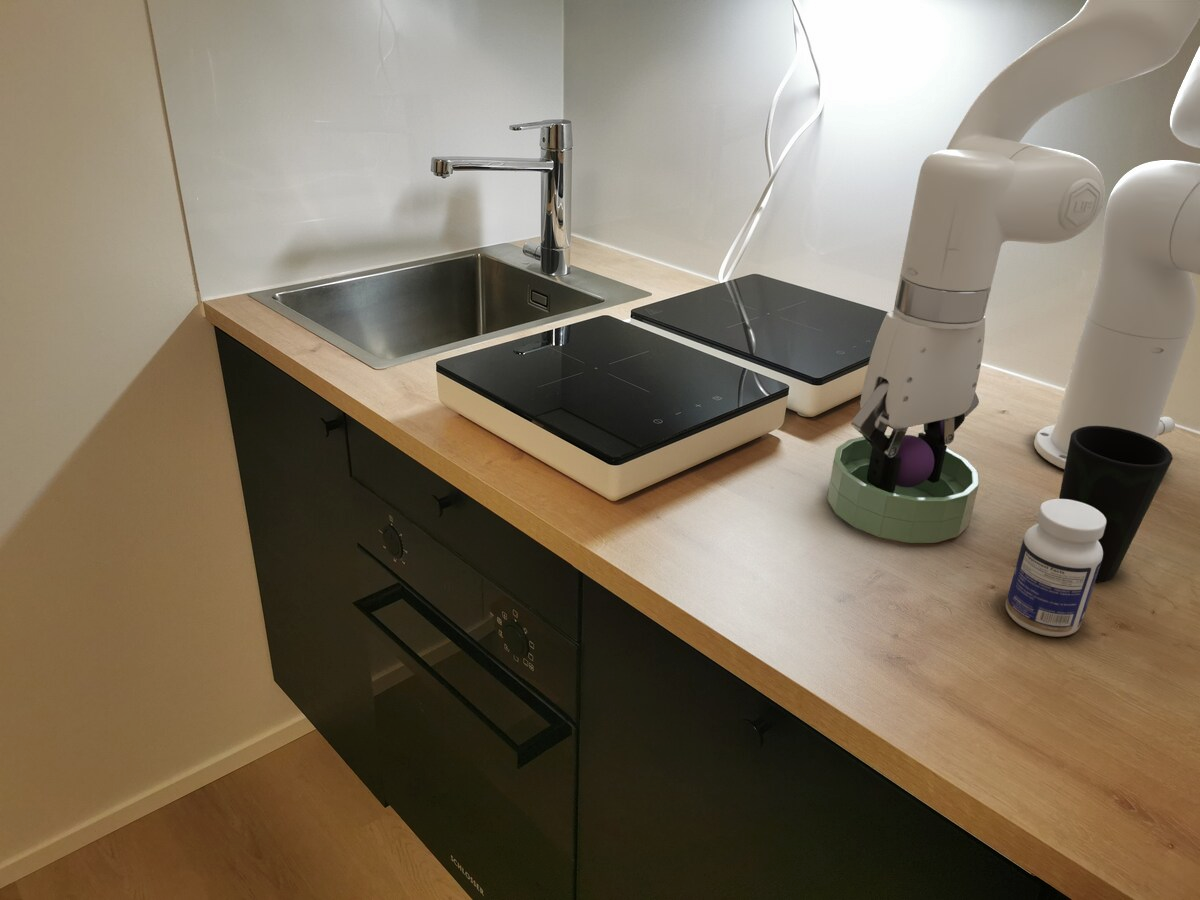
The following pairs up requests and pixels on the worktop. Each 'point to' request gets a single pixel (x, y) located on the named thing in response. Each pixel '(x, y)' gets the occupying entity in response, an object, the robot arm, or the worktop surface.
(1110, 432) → the cup
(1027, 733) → the worktop surface
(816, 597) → the worktop surface
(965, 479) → the bowl
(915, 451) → the ball
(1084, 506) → the pill bottle
